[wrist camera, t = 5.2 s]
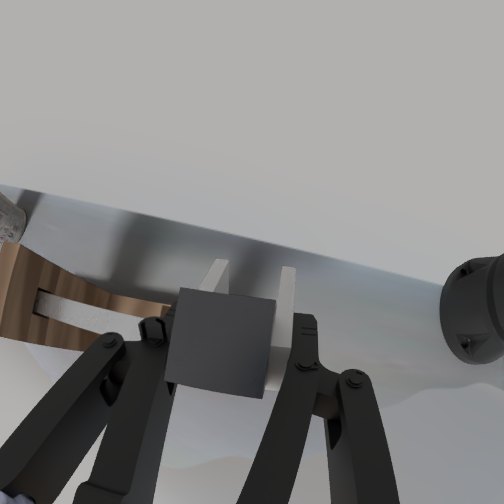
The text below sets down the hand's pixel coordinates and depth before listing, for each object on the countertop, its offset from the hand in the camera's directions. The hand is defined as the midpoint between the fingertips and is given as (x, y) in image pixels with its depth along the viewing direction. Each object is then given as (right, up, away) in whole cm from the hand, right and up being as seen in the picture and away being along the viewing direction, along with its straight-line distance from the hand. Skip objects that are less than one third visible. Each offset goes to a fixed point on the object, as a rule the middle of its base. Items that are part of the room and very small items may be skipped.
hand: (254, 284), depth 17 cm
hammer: (-12, -4, +5) cm, 14 cm away
